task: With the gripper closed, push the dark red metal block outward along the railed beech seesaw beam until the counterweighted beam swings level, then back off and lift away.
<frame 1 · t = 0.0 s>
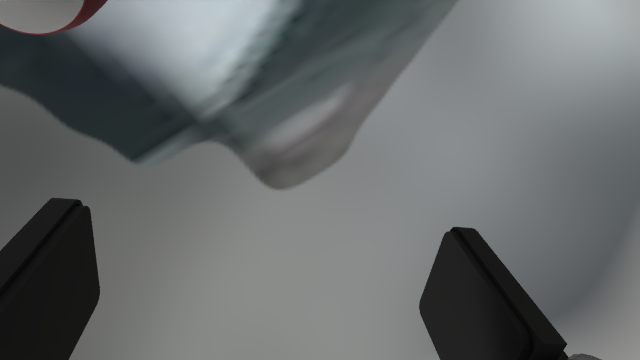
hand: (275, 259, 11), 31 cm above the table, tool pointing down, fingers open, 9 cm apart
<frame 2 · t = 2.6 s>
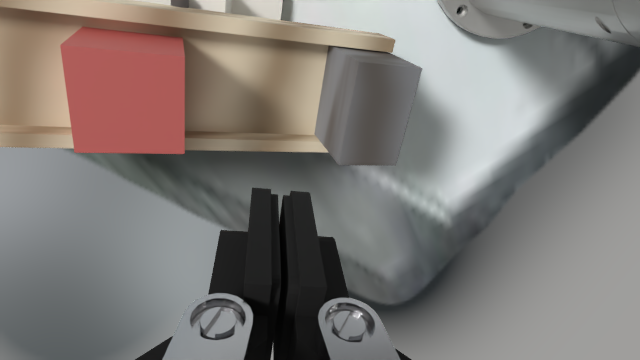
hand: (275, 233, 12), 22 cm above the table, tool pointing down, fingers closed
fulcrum: (196, 56, 30), on the table
beam: (180, 88, 22), point 9 cm above the table, hinge at -11.9°, touching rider
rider: (136, 77, 23), point 8 cm above the table, tilted 12°, touching beam
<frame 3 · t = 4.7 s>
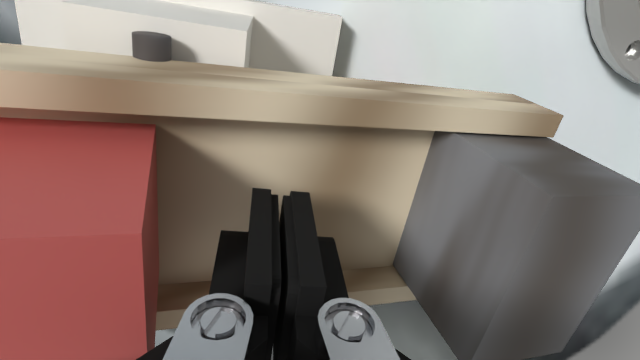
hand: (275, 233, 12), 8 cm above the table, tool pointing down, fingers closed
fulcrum: (189, 120, 18), on the table
beam: (150, 235, 10), point 9 cm above the table, hinge at -11.3°, touching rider
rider: (60, 204, 11), point 8 cm above the table, tilted 11°, touching beam, gripper
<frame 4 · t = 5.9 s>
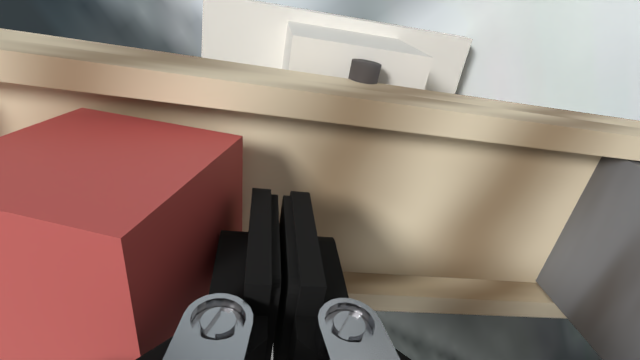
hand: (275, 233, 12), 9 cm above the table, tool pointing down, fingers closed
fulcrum: (322, 128, 20), on the table
beam: (354, 226, 13), point 9 cm above the table, hinge at 0.2°, touching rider
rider: (166, 197, 12), point 8 cm above the table, tilted 19°, touching beam, gripper
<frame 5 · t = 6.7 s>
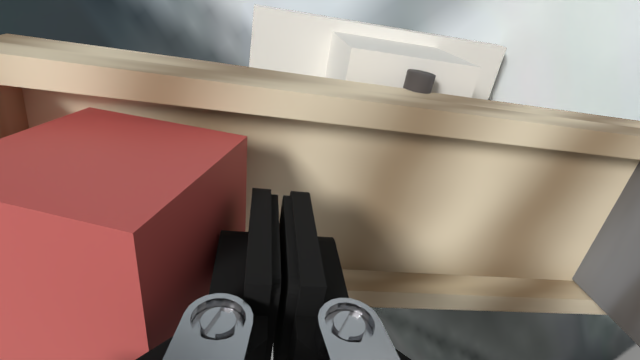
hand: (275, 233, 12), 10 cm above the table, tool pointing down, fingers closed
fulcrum: (358, 133, 21), on the table
beam: (413, 228, 13), point 9 cm above the table, hinge at 0.3°, touching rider
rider: (171, 196, 12), point 8 cm above the table, tilted 20°, touching beam, gripper
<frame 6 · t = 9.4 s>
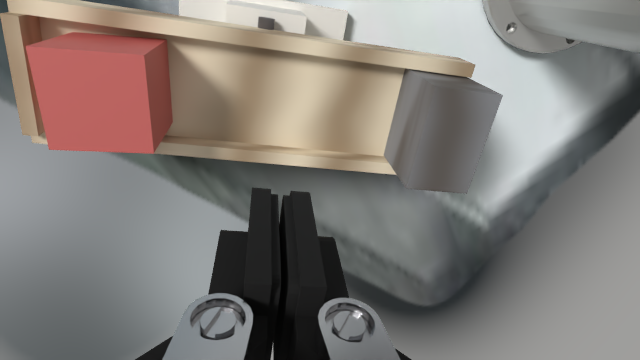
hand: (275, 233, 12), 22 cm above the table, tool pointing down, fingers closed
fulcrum: (260, 72, 31), on the table
beam: (259, 104, 24), point 9 cm above the table, hinge at 0.2°, touching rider
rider: (126, 79, 23), point 7 cm above the table, touching beam
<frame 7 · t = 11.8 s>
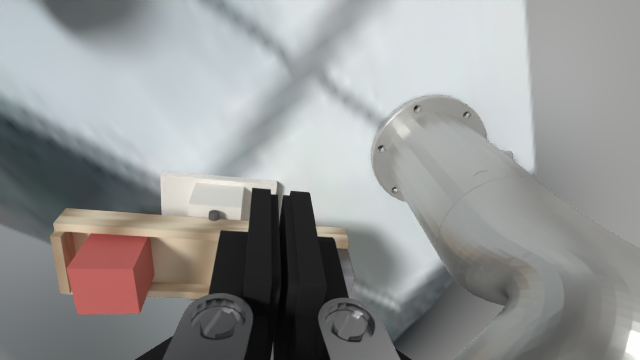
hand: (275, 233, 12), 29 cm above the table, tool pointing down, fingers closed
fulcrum: (219, 218, 45), on the table
beam: (208, 270, 37), point 9 cm above the table, hinge at 0.2°, touching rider
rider: (124, 254, 37), point 7 cm above the table, touching beam
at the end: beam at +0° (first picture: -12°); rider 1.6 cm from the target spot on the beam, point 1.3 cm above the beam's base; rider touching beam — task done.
